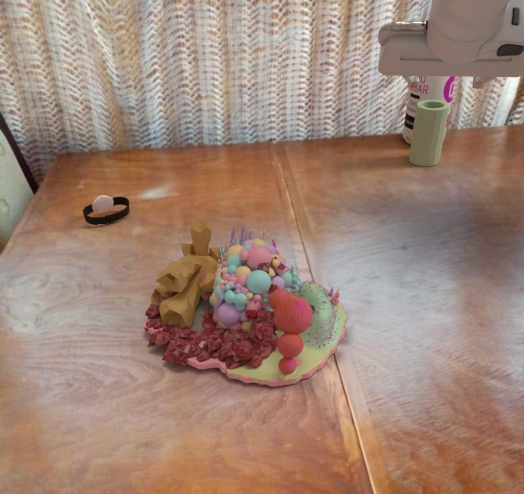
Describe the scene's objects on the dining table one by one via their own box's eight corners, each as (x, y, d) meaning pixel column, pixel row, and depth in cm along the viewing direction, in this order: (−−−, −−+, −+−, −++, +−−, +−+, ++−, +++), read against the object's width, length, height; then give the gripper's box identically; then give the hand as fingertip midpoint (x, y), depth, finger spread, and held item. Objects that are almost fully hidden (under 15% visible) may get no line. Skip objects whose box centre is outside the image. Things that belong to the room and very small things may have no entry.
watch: (125, 206, 91) (120, 185, 89) (136, 216, 88) (132, 196, 86) (81, 219, 88) (75, 199, 86) (91, 231, 85) (86, 210, 83)
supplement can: (449, 136, 109) (465, 54, 99) (435, 151, 104) (451, 65, 94) (410, 130, 112) (422, 50, 102) (395, 143, 107) (406, 60, 97)
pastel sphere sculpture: (114, 362, 62) (94, 297, 56) (188, 255, 79) (179, 196, 73) (329, 399, 56) (333, 331, 50) (359, 276, 73) (365, 214, 67)
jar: (438, 155, 102) (448, 100, 96) (439, 167, 98) (450, 110, 92) (408, 154, 103) (416, 99, 97) (408, 165, 99) (417, 109, 93)
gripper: (376, 46, 69) (372, 102, 82) (547, 47, 65) (513, 105, 79) (381, -1, 69) (376, 62, 83) (552, -3, 66) (517, 63, 79)
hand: (444, 83), depth 81 cm, fingers open, 8 cm apart
